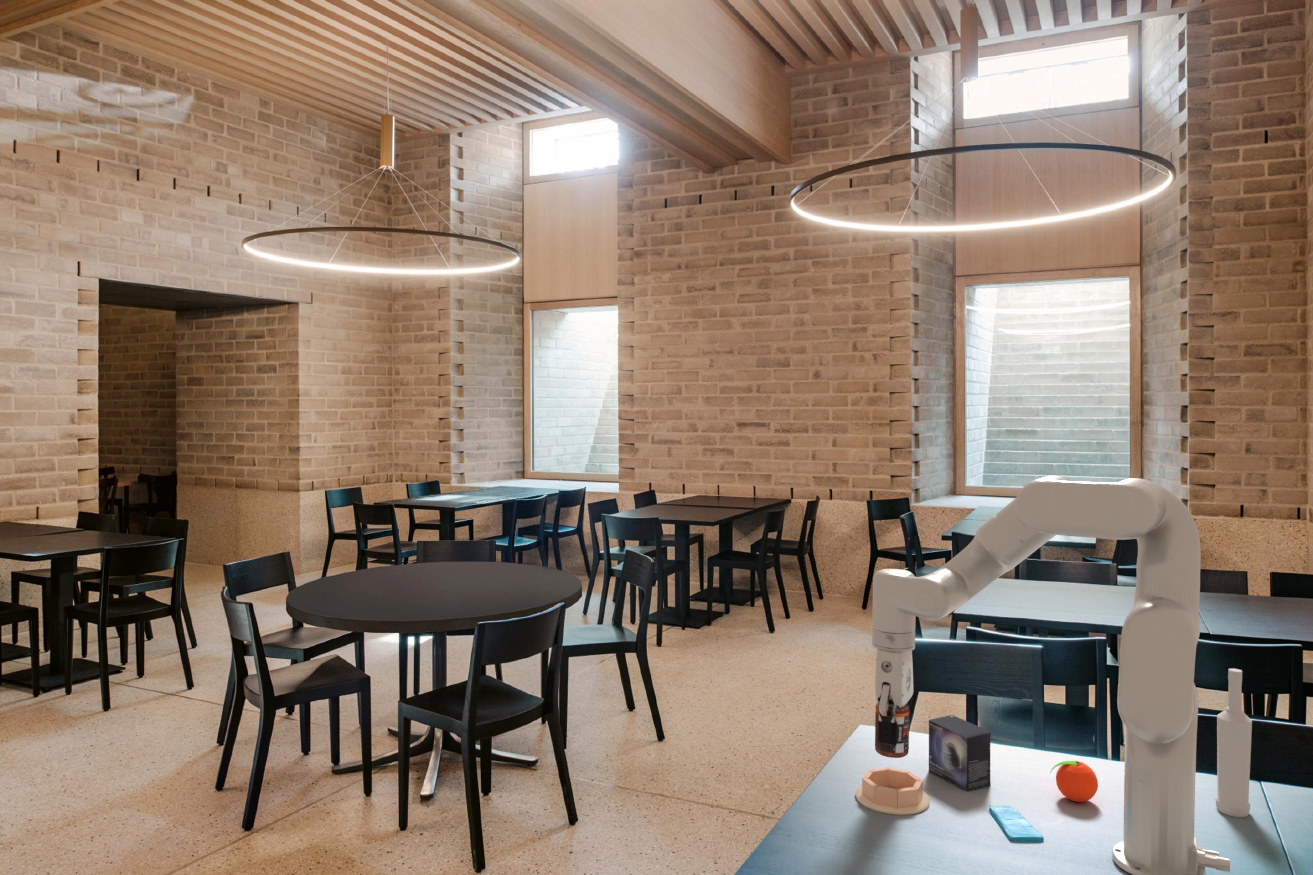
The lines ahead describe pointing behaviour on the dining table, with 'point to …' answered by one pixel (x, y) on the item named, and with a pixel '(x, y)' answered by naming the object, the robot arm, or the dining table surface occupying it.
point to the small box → (959, 752)
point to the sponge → (1015, 824)
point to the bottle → (1233, 752)
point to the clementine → (1076, 781)
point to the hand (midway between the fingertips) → (892, 736)
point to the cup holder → (892, 792)
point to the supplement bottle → (902, 734)
